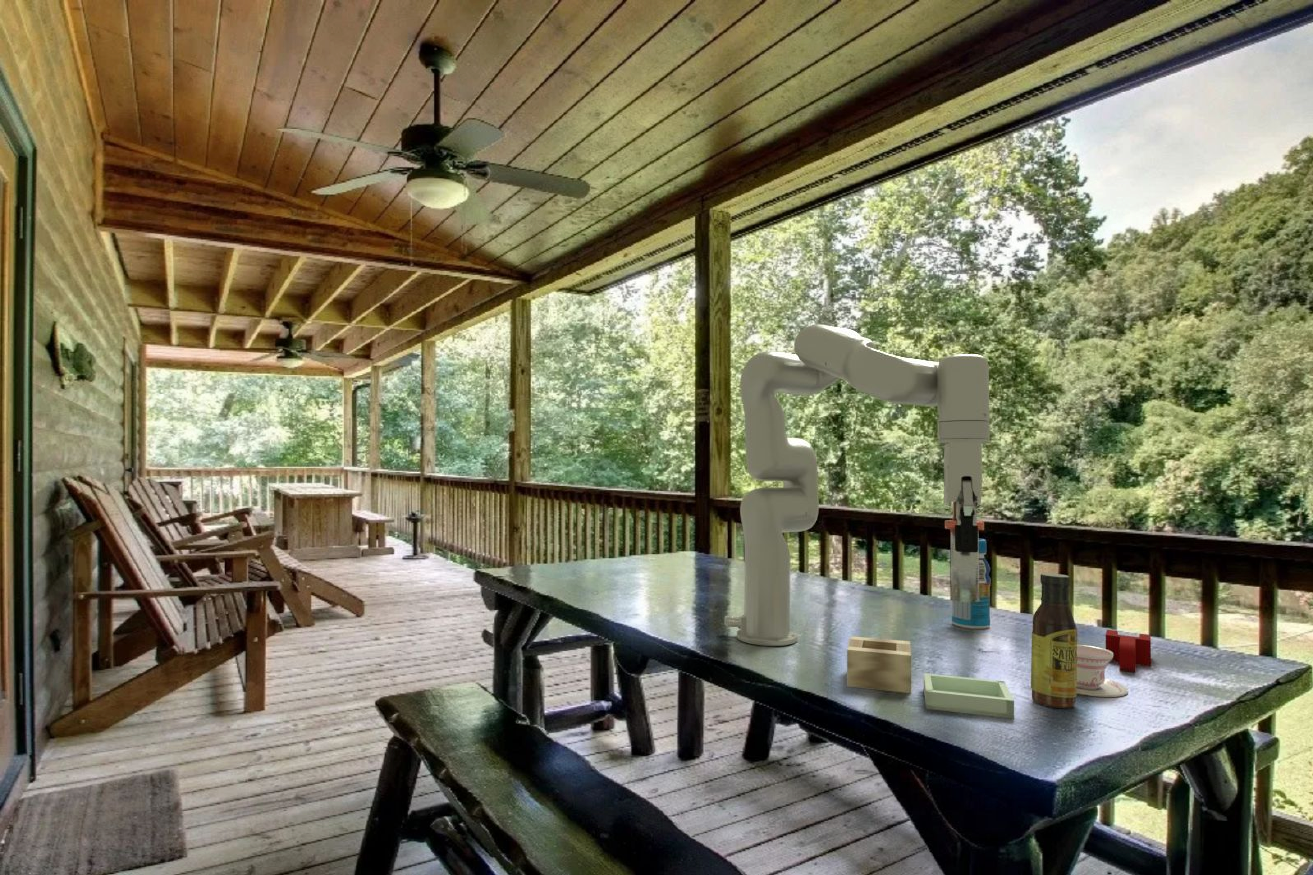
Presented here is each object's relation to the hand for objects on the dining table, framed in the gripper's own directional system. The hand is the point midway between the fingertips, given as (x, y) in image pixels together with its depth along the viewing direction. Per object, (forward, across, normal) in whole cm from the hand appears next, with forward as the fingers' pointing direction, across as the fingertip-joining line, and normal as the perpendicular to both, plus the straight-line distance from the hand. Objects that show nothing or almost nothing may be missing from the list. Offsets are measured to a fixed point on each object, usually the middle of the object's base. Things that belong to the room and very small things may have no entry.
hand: (964, 548), depth 112 cm
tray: (+24, 0, 0) cm, 24 cm away
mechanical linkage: (+24, -37, +31) cm, 54 cm away
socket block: (+24, -7, -13) cm, 28 cm away
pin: (+8, 0, 0) cm, 8 cm away
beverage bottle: (+24, -60, +6) cm, 65 cm away
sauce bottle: (+24, -5, +13) cm, 28 cm away
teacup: (+24, -17, +20) cm, 36 cm away
